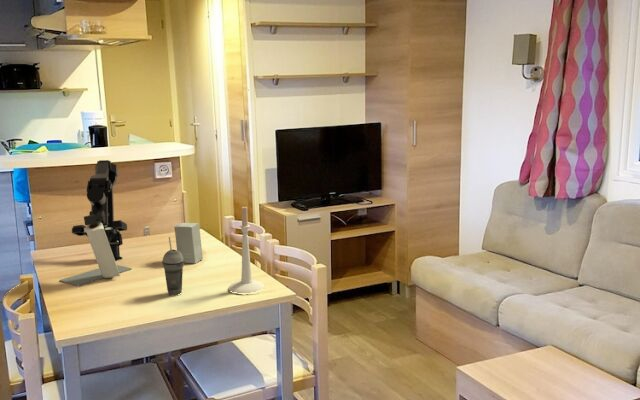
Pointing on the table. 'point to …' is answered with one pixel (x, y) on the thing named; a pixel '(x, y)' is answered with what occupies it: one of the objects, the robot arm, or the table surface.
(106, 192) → the robot arm
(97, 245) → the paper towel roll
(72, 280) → the gray mat
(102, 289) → the table surface
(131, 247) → the table surface
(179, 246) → the skincare box
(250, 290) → the candlestick
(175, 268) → the beverage cup
